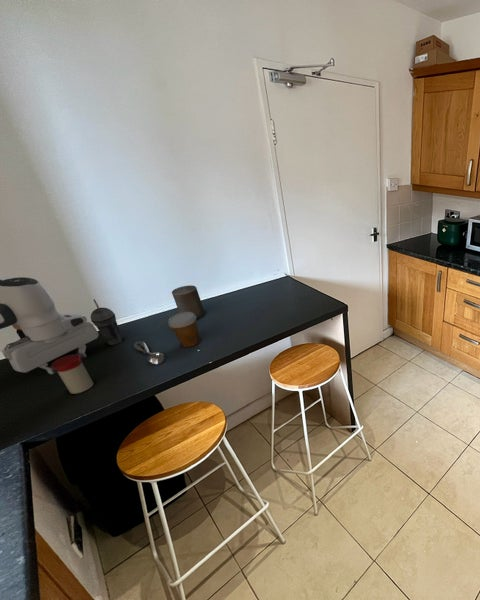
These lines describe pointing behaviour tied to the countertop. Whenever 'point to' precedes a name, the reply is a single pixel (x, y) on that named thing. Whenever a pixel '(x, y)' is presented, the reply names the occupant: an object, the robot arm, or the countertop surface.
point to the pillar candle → (188, 300)
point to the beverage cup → (106, 324)
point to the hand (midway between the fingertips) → (68, 364)
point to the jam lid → (67, 362)
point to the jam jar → (76, 379)
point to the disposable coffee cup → (185, 328)
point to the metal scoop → (153, 357)
